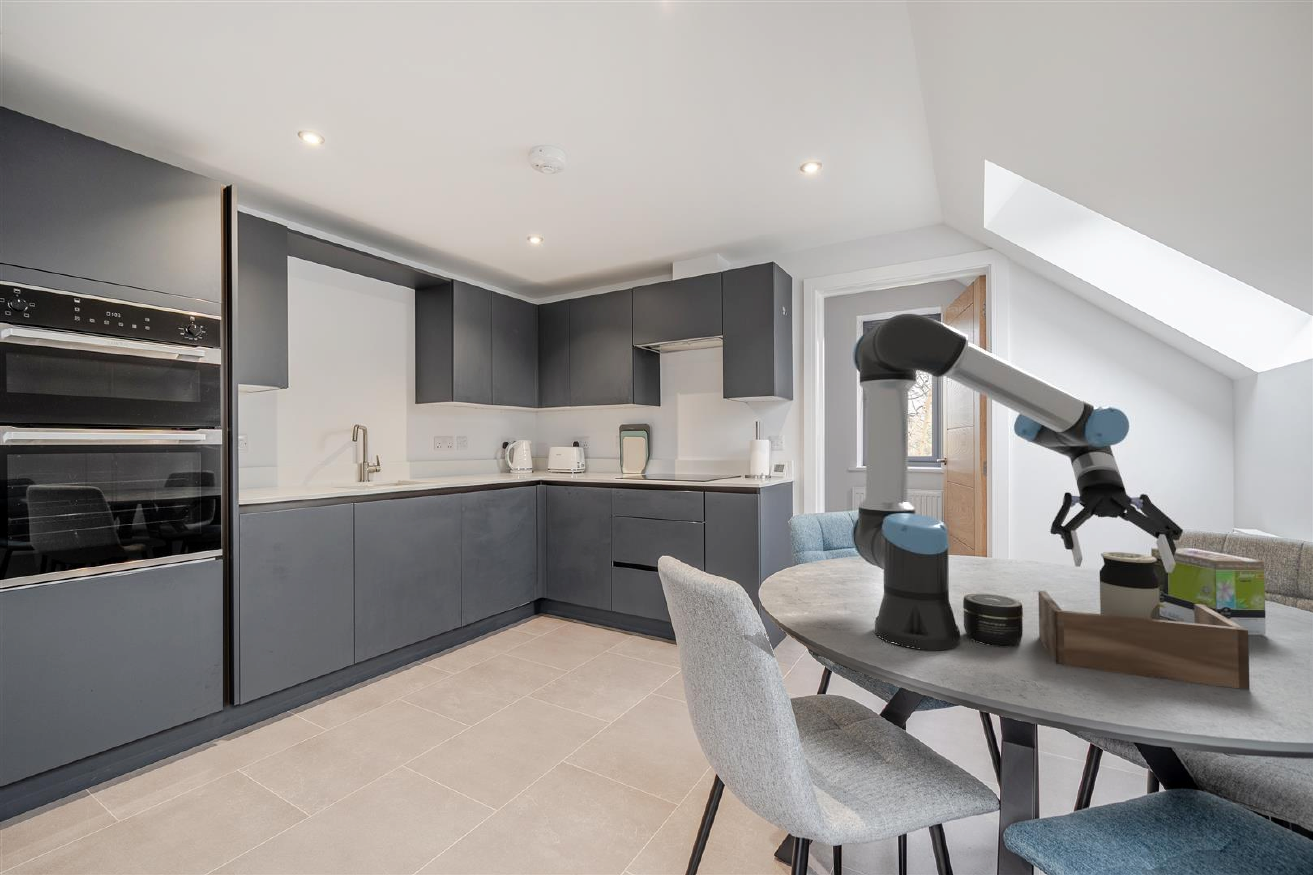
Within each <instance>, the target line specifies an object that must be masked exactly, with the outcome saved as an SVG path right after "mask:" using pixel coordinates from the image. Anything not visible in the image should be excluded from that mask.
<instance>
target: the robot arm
mask: <svg viewBox="0 0 1313 875" xmlns="http://www.w3.org/2000/svg"><path fill="white" fill-rule="evenodd" d="M852 359H853V364H854V367H855V369H856V370H857V371H858V372H859V386H860V387H861V388H862V389H863V390H864V391H865V393H866V427H865V428H866V438H865V440H866V442H865V444H866V445H865V449H866V451H865V455H866V457H865V498H864V499H863V501H862V502H861V503H859V504H858V512H857V514H858V518H857V519H856V520H855V521H854V523H853V526H852V529H851V542H852V545H853V548H854V550H855V551H856V553H857V554H858V555H859V556H860V557H861V558H862V559H864V560H865V562H867V563H869V564H870V565H872V566H875V567H877V568H879V569H881V570H883V597H882V599H881V603H880V606H879V610H878V615H877V616H876V618H875V620H874V633H875V632H876V633H877V635H878V636H880V637H881V638H883V639H885V640H887V641H889V642H888V643H890V642H894V643H897V644H899V645H903V646H902V647H904V646H909V647H914V648H913V649H915V648H920V649H919V650H924V649H929V651H941V650H942V651H943V650H950V649H953V648H956V647H958V646H960V643H961V632H960V628H959V626H958V625H957V623H956V619H955V616H954V615H955V614H954V612H953V608H952V606H951V602H950V592H949V591H950V590H949V589H950V588H949V587H950V586H949V585H950V580H949V579H950V576H949V575H950V574H949V573H950V572H949V571H950V568H949V564H950V562H949V560H950V559H949V558H950V557H949V547H950V539H949V534H948V528H947V525H946V524H945V523H944V522H943V521H942V520H940V519H938V518H935V517H933V516H929V515H923V514H917V513H916V508H915V506H914V505H912V503H911V502H910V501H909V498H908V495H909V494H908V481H909V480H908V479H909V478H908V477H909V476H908V472H909V469H908V467H909V466H908V465H909V460H908V459H909V455H908V454H909V452H908V451H909V392H910V390H911V389H912V388H913V387H914V386H915V385H916V384H917V371H919V372H923V373H927V374H929V375H931V376H933V377H934V378H938V379H939V378H943V377H947V378H949V379H950V380H953V381H955V382H957V383H959V384H961V385H963V386H965V387H967V388H968V389H971V390H972V391H975V392H976V393H978V394H981V395H983V396H984V397H986V398H988V399H990V400H992V401H994V402H996V403H999V404H1000V405H1003V406H1004V407H1006V408H1007V409H1011V410H1013V411H1015V412H1016V413H1019V414H1018V415H1017V417H1016V419H1015V421H1014V424H1013V430H1014V433H1015V435H1016V436H1018V437H1020V438H1021V439H1023V440H1025V441H1027V442H1029V443H1032V444H1036V445H1038V446H1040V447H1043V448H1045V449H1048V450H1051V451H1053V452H1056V453H1058V454H1060V455H1063V456H1066V457H1068V458H1069V460H1070V462H1071V467H1072V470H1073V473H1074V478H1075V481H1076V486H1077V489H1078V490H1077V491H1078V493H1079V496H1078V495H1073V494H1072V493H1071V492H1068V491H1067V492H1064V495H1063V499H1062V505H1061V506H1060V508H1059V510H1058V512H1057V513H1056V516H1055V518H1054V520H1053V521H1052V522H1051V526H1050V531H1049V532H1050V534H1051V535H1060V538H1061V539H1062V540H1063V545H1064V548H1065V550H1071V554H1072V556H1073V562H1074V567H1081V565H1082V562H1083V555H1082V551H1081V547H1080V543H1079V538H1078V535H1077V529H1079V527H1081V526H1082V525H1083V524H1085V522H1086V521H1087V520H1089V519H1091V518H1092V517H1093V516H1095V517H1097V518H1106V517H1107V518H1112V519H1114V518H1115V519H1117V518H1118V517H1119V518H1120V519H1122V520H1124V521H1126V522H1130V523H1132V524H1133V525H1135V526H1136V527H1138V528H1139V529H1141V530H1143V531H1144V532H1146V533H1147V534H1149V535H1151V536H1152V537H1154V538H1155V539H1157V540H1156V541H1155V544H1156V548H1158V550H1159V553H1160V556H1161V559H1162V561H1163V564H1164V567H1165V570H1166V572H1168V573H1172V571H1173V569H1174V567H1175V565H1176V563H1175V561H1174V558H1173V556H1174V554H1175V552H1176V548H1177V546H1176V544H1175V541H1179V540H1180V538H1181V537H1182V534H1183V532H1184V530H1183V528H1182V527H1180V526H1179V525H1178V524H1177V523H1176V522H1175V521H1173V519H1171V518H1170V517H1169V516H1167V515H1166V514H1165V513H1164V512H1163V511H1162V510H1161V509H1160V508H1158V507H1157V506H1156V505H1155V504H1154V503H1153V502H1152V501H1151V499H1150V497H1149V495H1147V494H1145V493H1142V494H1140V496H1137V497H1130V495H1128V494H1127V492H1126V488H1125V485H1124V480H1123V479H1122V476H1121V472H1120V469H1119V466H1118V464H1117V461H1116V459H1115V456H1114V454H1113V449H1112V446H1115V445H1118V444H1120V443H1121V442H1122V441H1124V440H1125V439H1126V437H1127V436H1128V433H1129V431H1130V421H1129V419H1128V417H1127V415H1126V414H1125V413H1124V412H1123V411H1122V410H1121V409H1119V408H1116V407H1110V406H1094V405H1093V404H1090V403H1088V402H1087V401H1084V400H1082V399H1080V398H1078V397H1076V396H1074V395H1072V394H1070V393H1069V392H1067V391H1065V390H1062V389H1060V388H1058V387H1057V386H1054V385H1053V384H1051V383H1048V382H1047V381H1045V380H1043V379H1041V378H1039V377H1037V376H1036V375H1033V374H1031V373H1029V372H1028V371H1025V370H1023V369H1021V368H1019V367H1018V366H1016V365H1014V364H1012V363H1010V362H1008V361H1006V360H1004V359H1002V358H1000V357H998V356H996V355H995V354H992V353H990V352H988V351H986V350H984V349H983V348H981V347H978V346H977V345H975V344H972V343H970V342H969V338H968V335H967V334H965V333H964V332H961V331H960V330H957V329H955V328H954V327H951V326H949V325H947V324H945V323H943V322H941V321H938V320H936V319H934V318H930V317H928V316H925V315H922V314H916V313H901V314H898V315H897V314H896V315H894V316H892V317H890V318H888V319H886V320H885V321H883V322H882V323H880V324H877V325H875V326H872V327H870V328H869V329H867V330H866V331H865V332H864V333H863V334H862V335H861V336H860V337H859V338H858V339H857V341H856V343H855V345H854V348H853V352H852ZM1076 504H1079V505H1080V506H1082V509H1081V510H1080V511H1078V513H1077V514H1076V515H1075V516H1074V517H1073V518H1071V519H1070V520H1069V521H1068V522H1067V523H1066V524H1064V525H1063V523H1064V521H1065V520H1066V518H1067V516H1068V514H1069V512H1070V511H1071V508H1073V507H1075V506H1076ZM1138 510H1140V511H1141V512H1140V511H1138ZM877 635H876V636H877ZM878 636H877V637H878ZM881 638H880V639H881ZM883 639H882V640H883ZM885 640H884V641H885ZM887 641H886V642H887ZM899 645H898V646H899ZM909 647H908V648H909Z"/></svg>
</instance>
